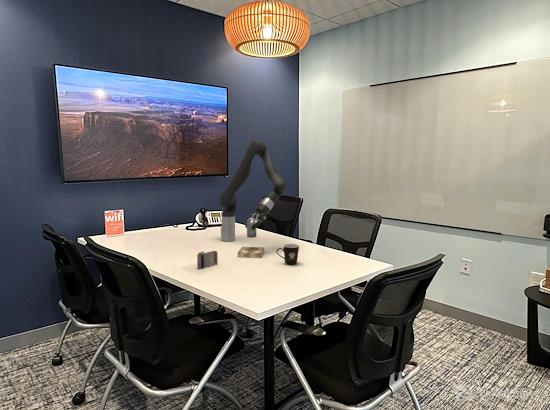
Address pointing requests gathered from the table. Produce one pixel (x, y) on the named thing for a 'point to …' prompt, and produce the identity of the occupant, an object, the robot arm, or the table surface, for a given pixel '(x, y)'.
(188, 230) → the table surface
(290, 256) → the coffee mug
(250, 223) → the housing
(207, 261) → the grey rusty box
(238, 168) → the robot arm
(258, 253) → the stand
